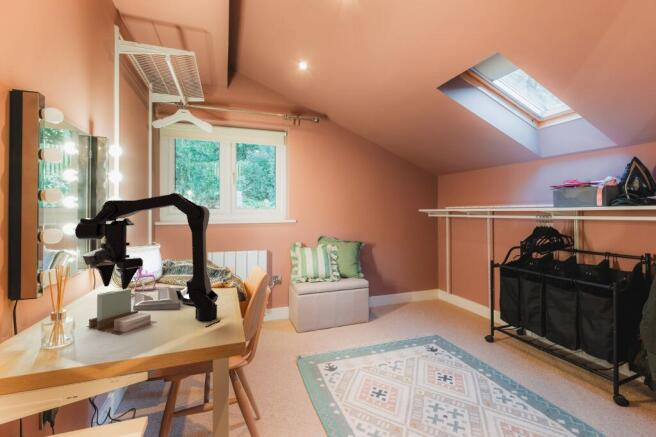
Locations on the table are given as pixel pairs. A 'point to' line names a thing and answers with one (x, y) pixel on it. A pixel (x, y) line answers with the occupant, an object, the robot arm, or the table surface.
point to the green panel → (113, 303)
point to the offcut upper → (132, 319)
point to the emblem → (162, 299)
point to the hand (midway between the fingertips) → (115, 287)
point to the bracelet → (136, 281)
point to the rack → (111, 323)
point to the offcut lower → (132, 326)
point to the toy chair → (144, 276)
